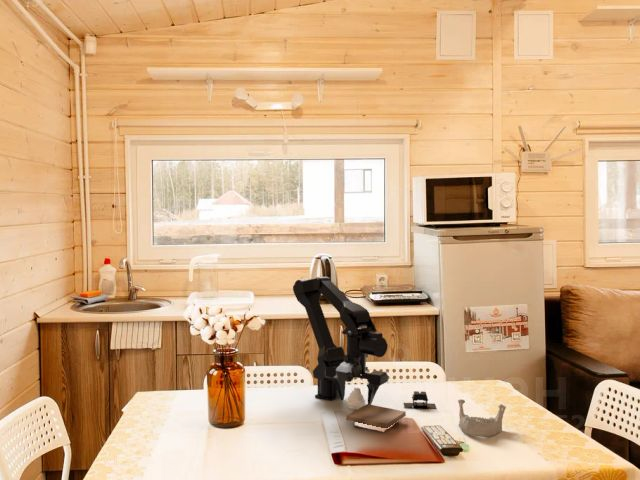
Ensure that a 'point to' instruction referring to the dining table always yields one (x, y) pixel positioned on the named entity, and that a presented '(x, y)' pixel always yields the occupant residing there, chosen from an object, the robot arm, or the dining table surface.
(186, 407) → the dining table surface
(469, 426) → the anatomical model
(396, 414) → the walnut stand
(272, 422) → the dining table surface
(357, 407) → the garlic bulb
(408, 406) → the build plate
